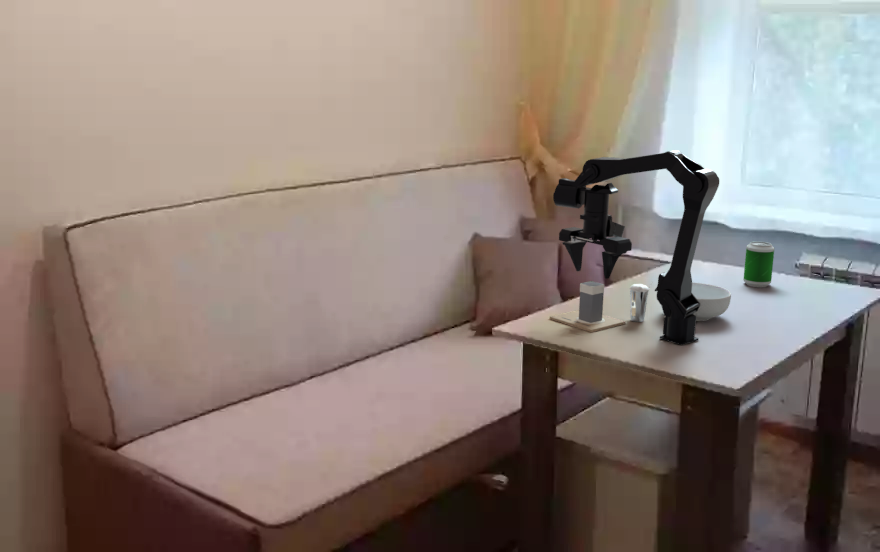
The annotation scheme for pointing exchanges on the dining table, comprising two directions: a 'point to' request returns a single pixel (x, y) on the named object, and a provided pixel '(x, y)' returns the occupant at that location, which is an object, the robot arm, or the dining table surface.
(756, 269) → the soda can
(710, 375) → the dining table surface
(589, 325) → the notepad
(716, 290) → the cereal bowl
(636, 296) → the milkshake
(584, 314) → the grey and white block
